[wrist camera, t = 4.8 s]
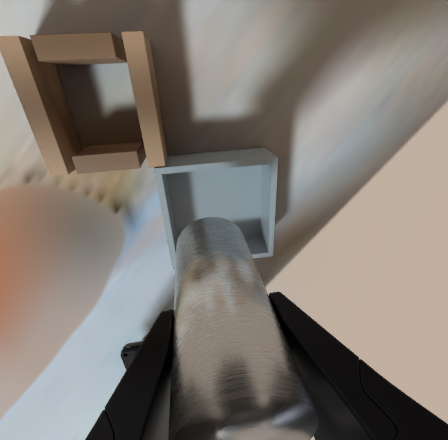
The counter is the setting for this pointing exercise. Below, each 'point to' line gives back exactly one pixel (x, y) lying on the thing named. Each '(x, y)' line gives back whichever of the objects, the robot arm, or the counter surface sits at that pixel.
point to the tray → (221, 194)
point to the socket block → (58, 107)
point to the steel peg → (230, 346)
